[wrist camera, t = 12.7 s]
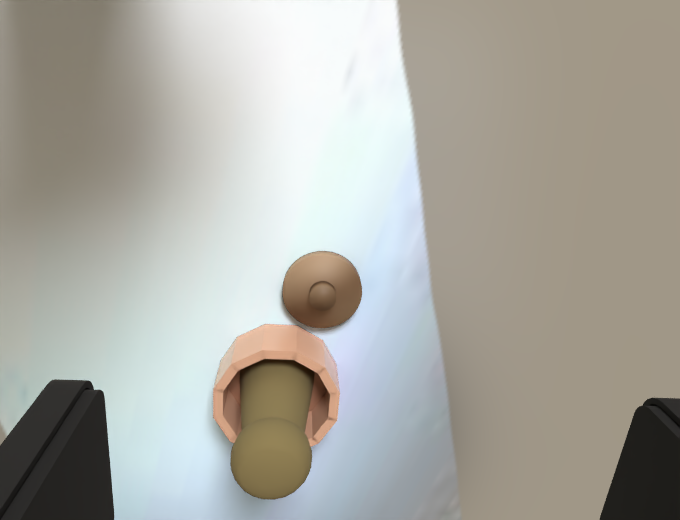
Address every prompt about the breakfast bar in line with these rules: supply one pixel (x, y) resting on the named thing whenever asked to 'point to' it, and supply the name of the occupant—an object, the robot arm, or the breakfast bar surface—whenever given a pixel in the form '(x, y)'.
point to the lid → (322, 289)
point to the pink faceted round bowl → (278, 345)
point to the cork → (273, 428)
